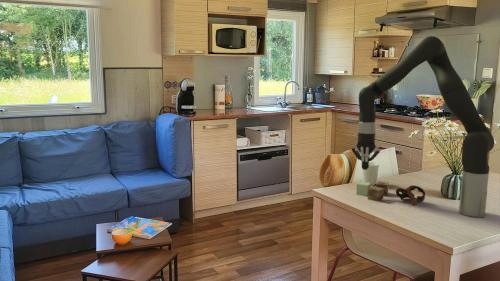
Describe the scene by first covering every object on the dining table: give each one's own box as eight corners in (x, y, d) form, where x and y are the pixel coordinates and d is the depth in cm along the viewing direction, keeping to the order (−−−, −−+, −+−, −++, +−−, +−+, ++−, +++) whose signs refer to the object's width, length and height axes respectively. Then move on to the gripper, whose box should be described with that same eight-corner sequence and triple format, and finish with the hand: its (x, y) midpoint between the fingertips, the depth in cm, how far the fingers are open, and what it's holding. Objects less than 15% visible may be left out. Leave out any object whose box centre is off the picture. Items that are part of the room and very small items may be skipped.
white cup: (360, 184, 218) (361, 165, 216) (361, 180, 225) (362, 161, 224) (377, 186, 216) (378, 166, 214) (377, 182, 223) (378, 162, 221)
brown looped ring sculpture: (418, 199, 197) (426, 186, 192) (420, 214, 189) (428, 201, 184) (391, 191, 198) (399, 178, 192) (392, 206, 190) (400, 193, 185)
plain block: (370, 193, 204) (370, 183, 203) (367, 196, 200) (367, 185, 199) (359, 191, 206) (360, 181, 206) (356, 194, 202) (356, 183, 201)
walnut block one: (387, 192, 205) (388, 182, 204) (386, 195, 200) (387, 184, 199) (376, 191, 207) (377, 180, 206) (375, 194, 202) (376, 183, 201)
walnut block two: (383, 199, 196) (383, 187, 195) (378, 201, 192) (379, 190, 191) (372, 196, 199) (373, 185, 198) (367, 199, 195) (368, 188, 194)
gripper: (383, 131, 198) (381, 169, 201) (354, 129, 205) (353, 166, 208) (379, 134, 191) (377, 172, 194) (349, 131, 198) (348, 169, 201)
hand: (364, 169), depth 201 cm, fingers closed
